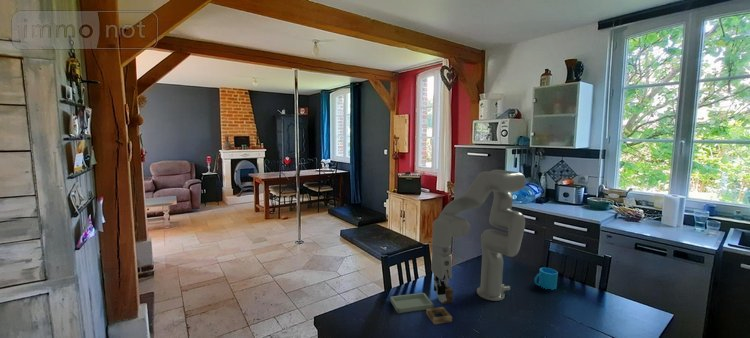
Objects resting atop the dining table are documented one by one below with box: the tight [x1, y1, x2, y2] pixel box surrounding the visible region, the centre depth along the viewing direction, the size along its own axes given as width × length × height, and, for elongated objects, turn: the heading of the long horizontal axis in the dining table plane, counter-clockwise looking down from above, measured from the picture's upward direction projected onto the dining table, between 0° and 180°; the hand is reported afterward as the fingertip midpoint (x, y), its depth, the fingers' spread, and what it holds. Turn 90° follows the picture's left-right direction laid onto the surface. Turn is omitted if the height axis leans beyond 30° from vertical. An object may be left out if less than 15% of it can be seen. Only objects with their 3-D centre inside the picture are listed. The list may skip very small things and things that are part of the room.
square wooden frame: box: [425, 306, 453, 325], centre depth 132 cm, size 8×8×2 cm
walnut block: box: [441, 284, 454, 305], centre depth 146 cm, size 5×5×6 cm
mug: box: [534, 267, 559, 291], centre depth 161 cm, size 12×8×8 cm
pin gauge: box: [433, 280, 447, 304], centre depth 131 cm, size 3×3×8 cm
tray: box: [389, 292, 435, 314], centre depth 142 cm, size 17×11×2 cm, turn 105°
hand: (439, 291), depth 131 cm, fingers closed on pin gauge, 2 cm apart
